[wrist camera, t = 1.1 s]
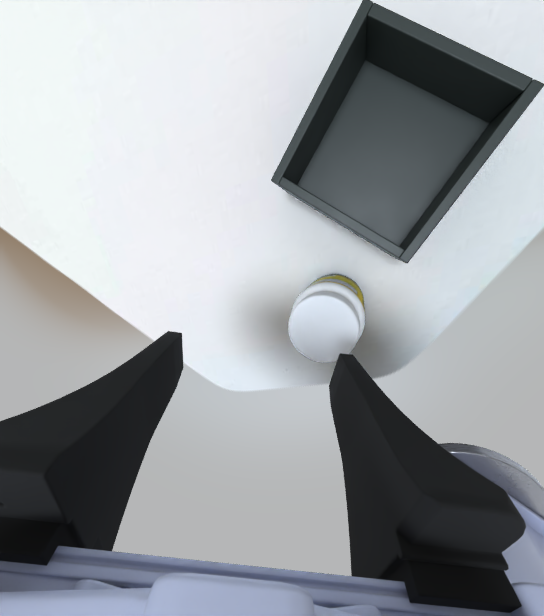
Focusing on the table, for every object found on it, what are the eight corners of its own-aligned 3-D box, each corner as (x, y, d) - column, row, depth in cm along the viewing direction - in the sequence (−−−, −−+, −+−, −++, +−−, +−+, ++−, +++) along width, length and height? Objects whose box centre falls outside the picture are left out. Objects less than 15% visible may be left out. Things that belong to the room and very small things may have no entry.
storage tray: (501, 122, 18) (545, 83, 14) (398, 259, 21) (407, 263, 17) (363, 52, 19) (364, -4, 15) (287, 192, 23) (270, 180, 18)
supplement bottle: (348, 338, 24) (342, 385, 16) (297, 314, 25) (268, 347, 17) (374, 287, 22) (382, 311, 14) (320, 263, 23) (299, 274, 15)
